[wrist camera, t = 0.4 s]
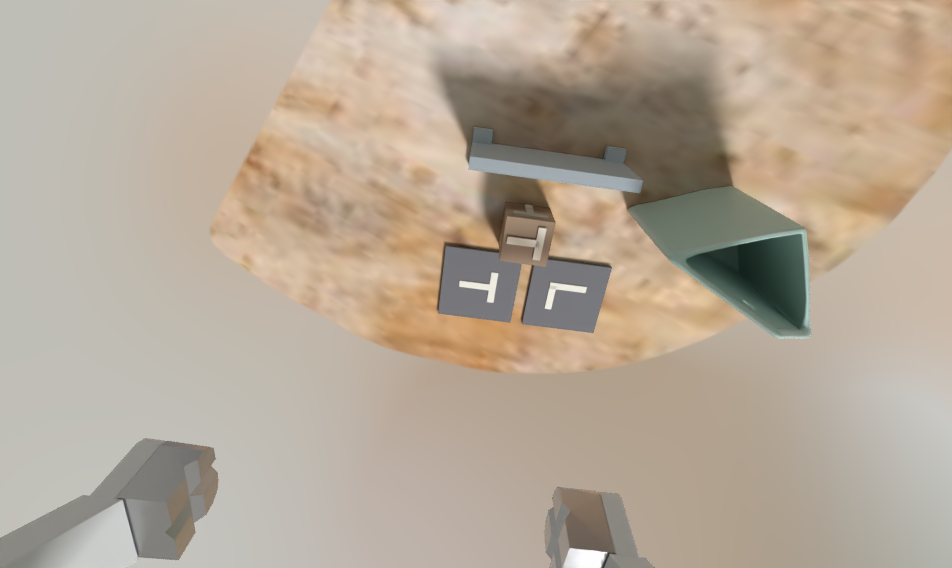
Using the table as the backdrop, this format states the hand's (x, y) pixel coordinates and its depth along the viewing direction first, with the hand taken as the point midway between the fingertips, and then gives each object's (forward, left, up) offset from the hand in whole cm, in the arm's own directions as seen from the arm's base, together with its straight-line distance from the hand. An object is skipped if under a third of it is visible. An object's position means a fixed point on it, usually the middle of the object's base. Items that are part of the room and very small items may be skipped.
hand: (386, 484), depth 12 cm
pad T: (+16, +4, -44) cm, 47 cm away
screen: (0, +9, -44) cm, 45 cm away
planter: (+4, +28, -44) cm, 52 cm away
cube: (+8, +8, -44) cm, 45 cm away
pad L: (+16, +14, -44) cm, 49 cm away
